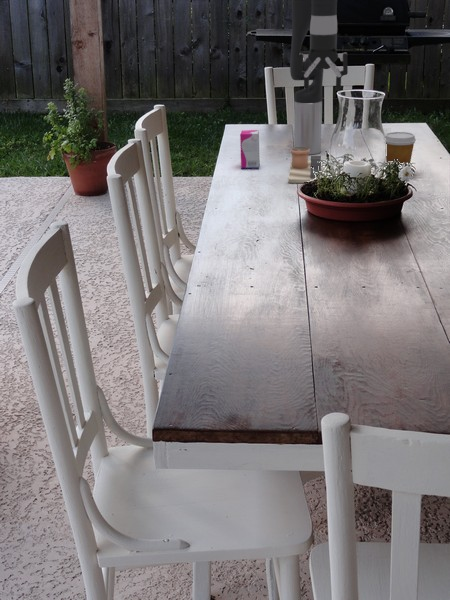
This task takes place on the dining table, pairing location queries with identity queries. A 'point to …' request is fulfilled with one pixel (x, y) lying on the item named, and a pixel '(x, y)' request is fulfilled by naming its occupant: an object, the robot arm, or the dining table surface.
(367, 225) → the dining table surface
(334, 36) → the robot arm
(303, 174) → the birch board
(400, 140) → the disposable coffee cup
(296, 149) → the terracotta pot
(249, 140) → the supplement box
